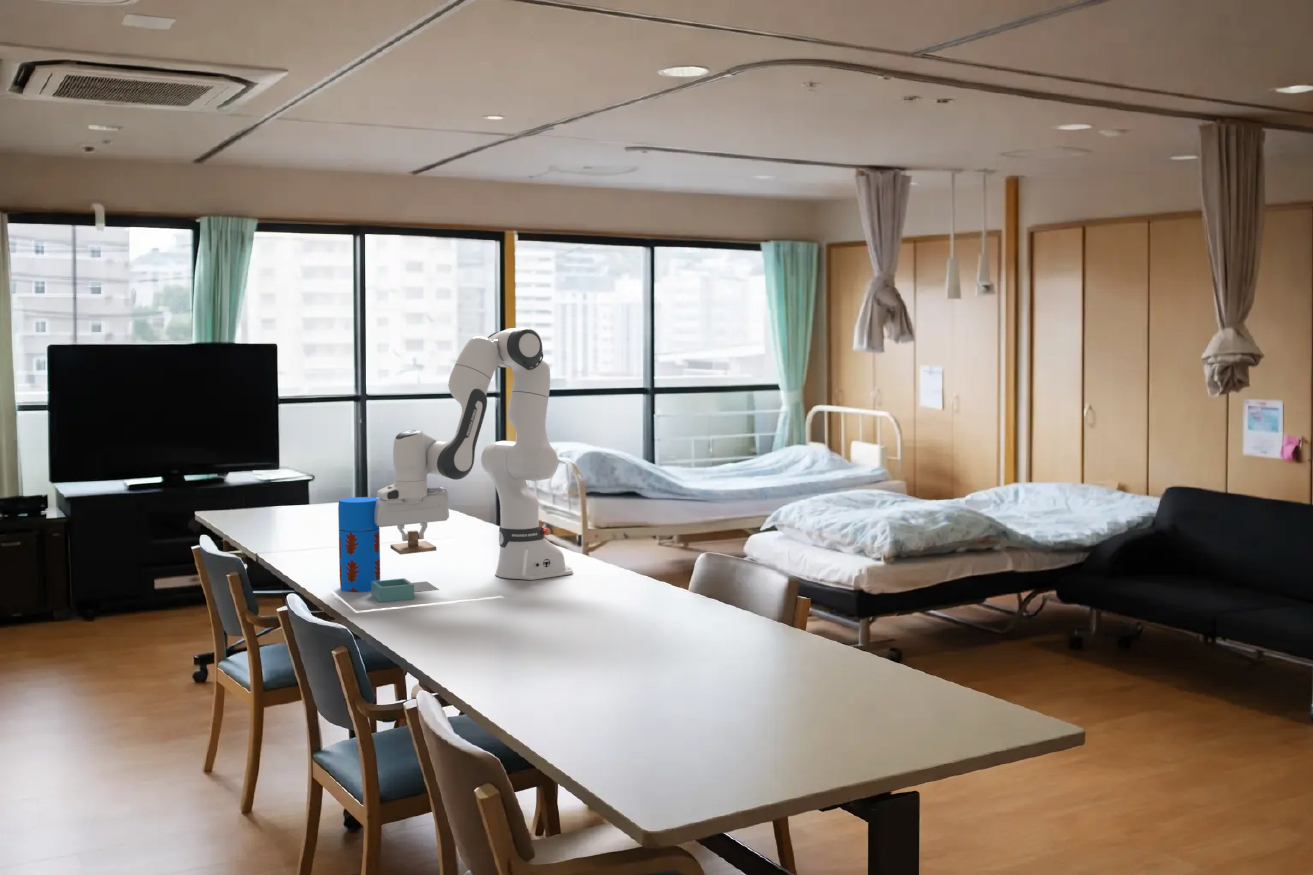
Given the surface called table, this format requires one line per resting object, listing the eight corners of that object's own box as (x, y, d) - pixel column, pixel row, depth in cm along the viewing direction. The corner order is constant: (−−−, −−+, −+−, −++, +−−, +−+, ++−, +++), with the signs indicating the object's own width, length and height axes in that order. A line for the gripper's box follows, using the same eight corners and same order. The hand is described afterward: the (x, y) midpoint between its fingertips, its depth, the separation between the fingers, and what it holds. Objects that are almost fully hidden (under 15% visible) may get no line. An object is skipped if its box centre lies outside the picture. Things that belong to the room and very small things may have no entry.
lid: (425, 544, 335) (425, 526, 335) (436, 550, 326) (435, 532, 326) (390, 548, 331) (389, 530, 330) (400, 554, 322) (399, 536, 321)
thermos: (370, 594, 322) (368, 503, 320) (333, 593, 324) (331, 501, 322) (386, 586, 333) (385, 497, 331) (350, 585, 335) (349, 496, 333)
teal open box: (404, 594, 323) (404, 578, 322) (414, 601, 315) (413, 584, 314) (371, 598, 318) (371, 581, 318) (380, 604, 311) (379, 587, 310)
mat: (426, 583, 337) (426, 581, 337) (439, 591, 327) (439, 589, 326) (384, 587, 332) (384, 585, 332) (396, 596, 321) (396, 593, 321)
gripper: (444, 485, 334) (446, 533, 336) (371, 491, 325) (373, 541, 326) (451, 488, 329) (453, 537, 330) (377, 494, 319) (379, 545, 321)
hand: (412, 539), depth 328 cm, fingers closed on lid, 3 cm apart
